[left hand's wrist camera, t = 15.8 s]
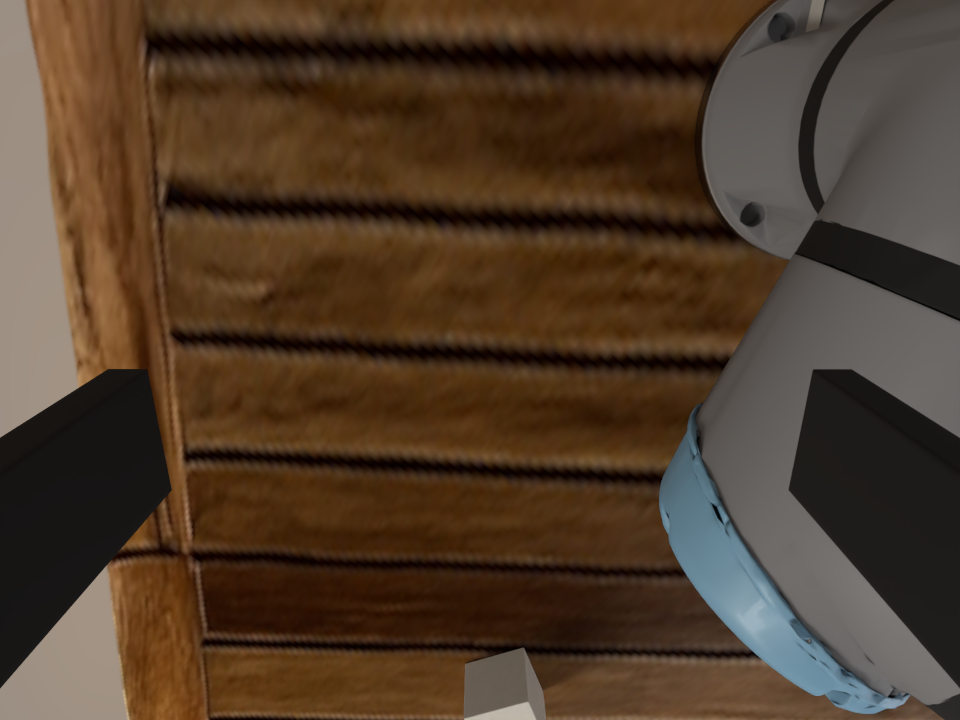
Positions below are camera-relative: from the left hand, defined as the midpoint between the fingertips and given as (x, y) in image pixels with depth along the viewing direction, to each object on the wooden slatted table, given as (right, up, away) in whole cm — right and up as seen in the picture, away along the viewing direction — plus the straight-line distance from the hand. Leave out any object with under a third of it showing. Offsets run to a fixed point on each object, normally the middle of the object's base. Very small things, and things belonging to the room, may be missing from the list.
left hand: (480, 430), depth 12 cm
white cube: (+2, -24, +38) cm, 45 cm away
